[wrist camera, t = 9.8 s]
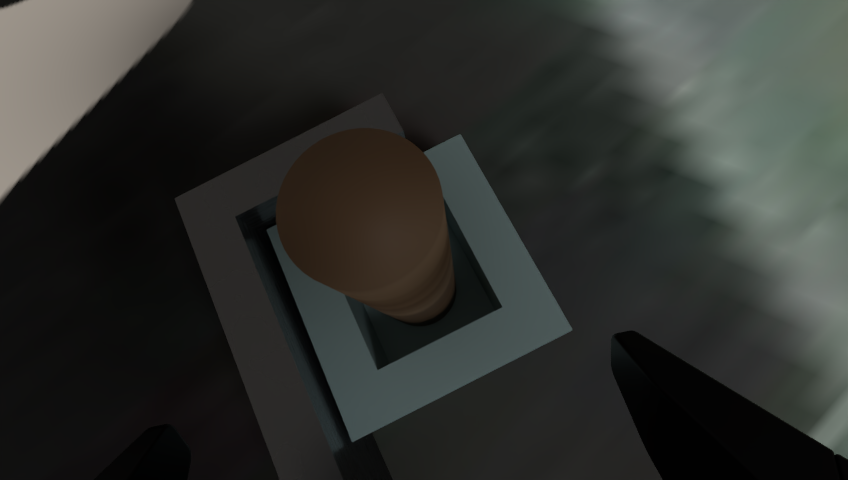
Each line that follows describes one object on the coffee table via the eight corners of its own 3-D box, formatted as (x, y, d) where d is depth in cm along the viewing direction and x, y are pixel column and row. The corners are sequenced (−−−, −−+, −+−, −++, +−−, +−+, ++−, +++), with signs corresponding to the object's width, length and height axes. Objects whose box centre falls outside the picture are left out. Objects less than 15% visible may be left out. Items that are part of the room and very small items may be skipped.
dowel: (471, 287, 22) (479, 199, 9) (420, 342, 21) (355, 327, 9) (418, 239, 23) (360, 98, 10) (368, 290, 22) (242, 210, 10)
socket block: (551, 334, 22) (572, 329, 18) (375, 424, 22) (352, 442, 17) (461, 173, 24) (460, 133, 20) (302, 252, 24) (266, 229, 20)
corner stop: (570, 460, 20) (612, 503, 14) (380, 565, 20) (344, 651, 14) (402, 154, 25) (382, 92, 19) (244, 235, 24) (174, 198, 18)
